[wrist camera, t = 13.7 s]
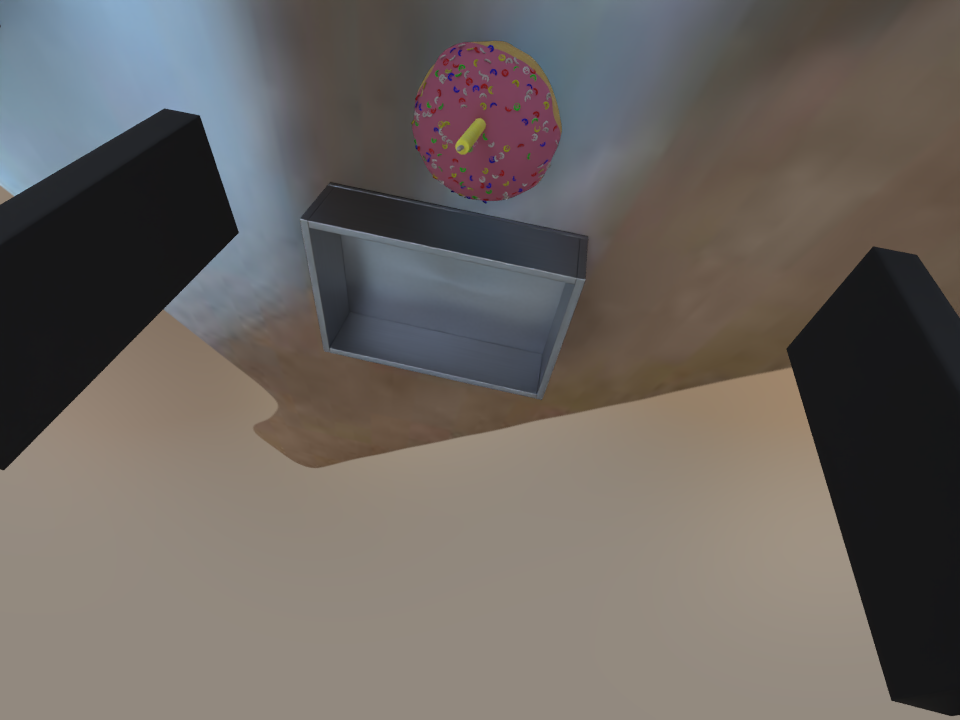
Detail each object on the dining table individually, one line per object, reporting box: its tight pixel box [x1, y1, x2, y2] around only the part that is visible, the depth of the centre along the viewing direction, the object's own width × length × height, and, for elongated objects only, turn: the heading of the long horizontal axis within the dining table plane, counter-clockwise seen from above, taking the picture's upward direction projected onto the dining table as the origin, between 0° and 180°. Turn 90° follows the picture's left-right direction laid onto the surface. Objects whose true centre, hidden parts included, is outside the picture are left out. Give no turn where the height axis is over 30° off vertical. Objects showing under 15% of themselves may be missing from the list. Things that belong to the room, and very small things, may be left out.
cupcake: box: [411, 41, 562, 203], centre depth 26 cm, size 9×8×12 cm
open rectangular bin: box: [300, 182, 588, 400], centre depth 40 cm, size 20×14×5 cm
